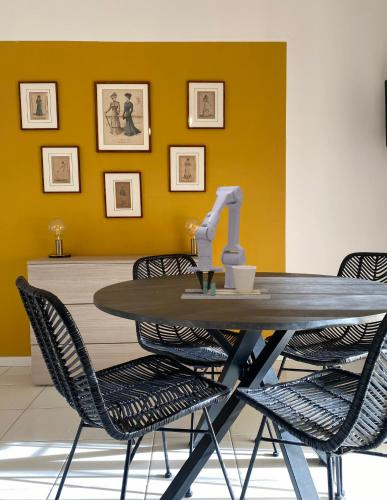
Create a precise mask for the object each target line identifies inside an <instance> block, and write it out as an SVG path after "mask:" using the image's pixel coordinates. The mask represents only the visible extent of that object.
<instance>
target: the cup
mask: <svg viewBox="0 0 387 500" xmlns="http://www.w3.org/2000/svg"><path fill="white" fill-rule="evenodd" d="M232 268H233V274H234V280H235V286H236V288H235V289H236V292H237V293H251V292H252V289H254V282H255V276H256V271H257V268H258V267H257V266H254V265H244V266H233V267H232Z"/></svg>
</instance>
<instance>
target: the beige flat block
mask: <svg viewBox="0 0 387 500" xmlns="http://www.w3.org/2000/svg"><path fill="white" fill-rule="evenodd" d="M202 294H211V290H208V279H203V292H202ZM215 294H261V292H260V291H259V290H252V292H251V293H237V292H236V290H215Z"/></svg>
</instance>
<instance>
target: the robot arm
mask: <svg viewBox="0 0 387 500" xmlns="http://www.w3.org/2000/svg"><path fill="white" fill-rule="evenodd" d="M243 192H244V191H243V190H242V187H240V186H239V185H235V186H231V185H230V186H219V187H218V188H217V189H216V192H215V198H216V199H215V202H214V203H213V206H212V209H211V211H209V212H208V213H206V215H205V217H204V219H203V221H202V223H201V225H200V226H198V227H197V228H196V229H195V231H194V239H195V240H196V245H197V259H198V260H197V264H198V266H187V268H186V272H187V273H196V274H195V275H196V277H197V279H198V281H199V284H200V289H201V290H203V280H204V273H207V280H208V290H210V289H211V283H212V279H213V278H214V275H215V273H224V274H225V275H224V285H223V286H224V287H223V289H236V286H235V280H234V274H233V268H232V267H233V266H245V264H246V262H247V257H246V250H245V248H243V247H242V245H240V236H241V235H240V234H241V233H240V232H241V231H240V230H241V229H240V228H241V227H240V226H241V206H243V196H244V195H243V194H244V193H243ZM225 207H226V208H227V209H228V210H227V211H228V215H227V217H228V218H227V239H226V241H227V243H226V245H225V246H224V247H223V248H222V252H221V256H220V262H221V264H222V265H223V266H213V240H214V239H215V238H216V231H217V230H216V228H217V227H218V224H219V222H220V220H221V217H220V215H221V213H222V211H223V210H224V208H225Z"/></svg>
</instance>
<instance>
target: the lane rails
mask: <svg viewBox="0 0 387 500" xmlns="http://www.w3.org/2000/svg"><path fill="white" fill-rule="evenodd" d="M184 290H185V291H184V292H185V293H181V295H180V298H181V300H193V299H195V300H196V299H197V300H199V299H200V300H210V299H211V300H220V299H221V300H226V299H227V300H237V299H238V300H239V299H240V300H242V299H243V300H247V299H248V300H253V299H254V300H271V298H272V297H271V294H270V293H269V289H268V288H253V289H252V290H259V291H260V294H215V290H236V288H216V282H211V283H210V290H211V294H203V290H201V288H185V289H184ZM265 292H266V293H265ZM267 292H268V293H267Z"/></svg>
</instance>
